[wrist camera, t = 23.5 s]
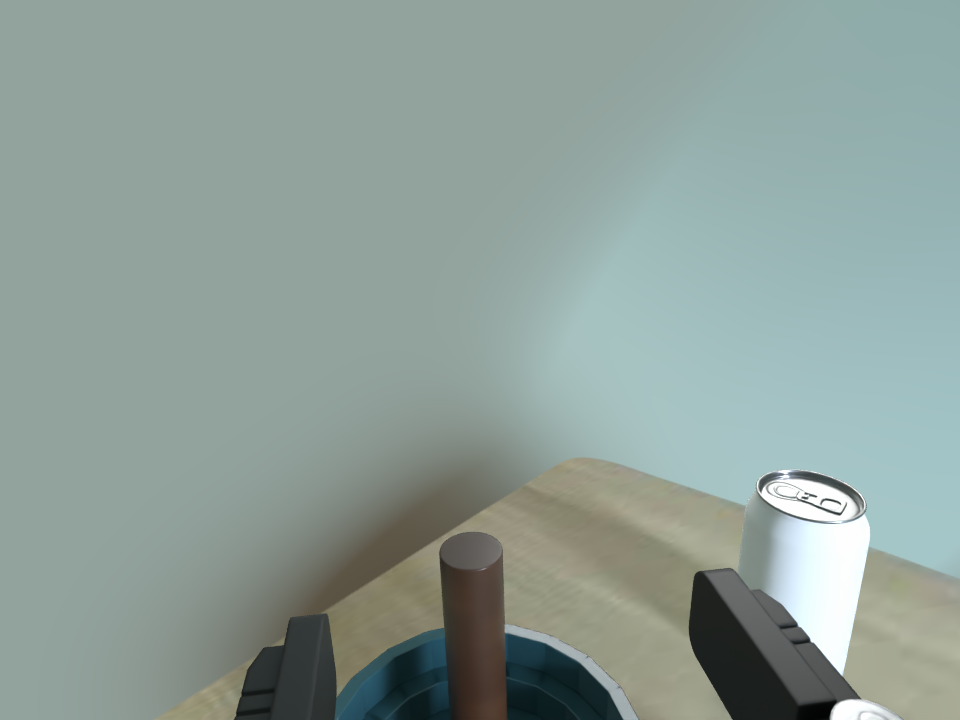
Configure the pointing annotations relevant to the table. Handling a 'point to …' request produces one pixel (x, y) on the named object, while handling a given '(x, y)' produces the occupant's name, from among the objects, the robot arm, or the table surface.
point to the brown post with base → (474, 626)
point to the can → (808, 552)
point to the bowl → (529, 682)
